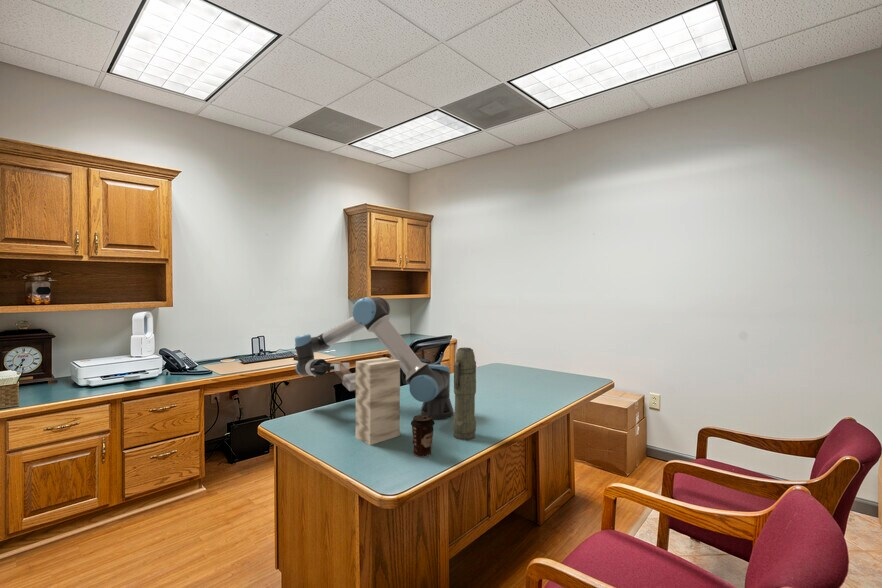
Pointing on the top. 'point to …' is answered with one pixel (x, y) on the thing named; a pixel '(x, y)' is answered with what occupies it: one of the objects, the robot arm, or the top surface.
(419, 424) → the coffee cup
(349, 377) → the hammer
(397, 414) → the pedestal
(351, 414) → the top surface
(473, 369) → the thermos
